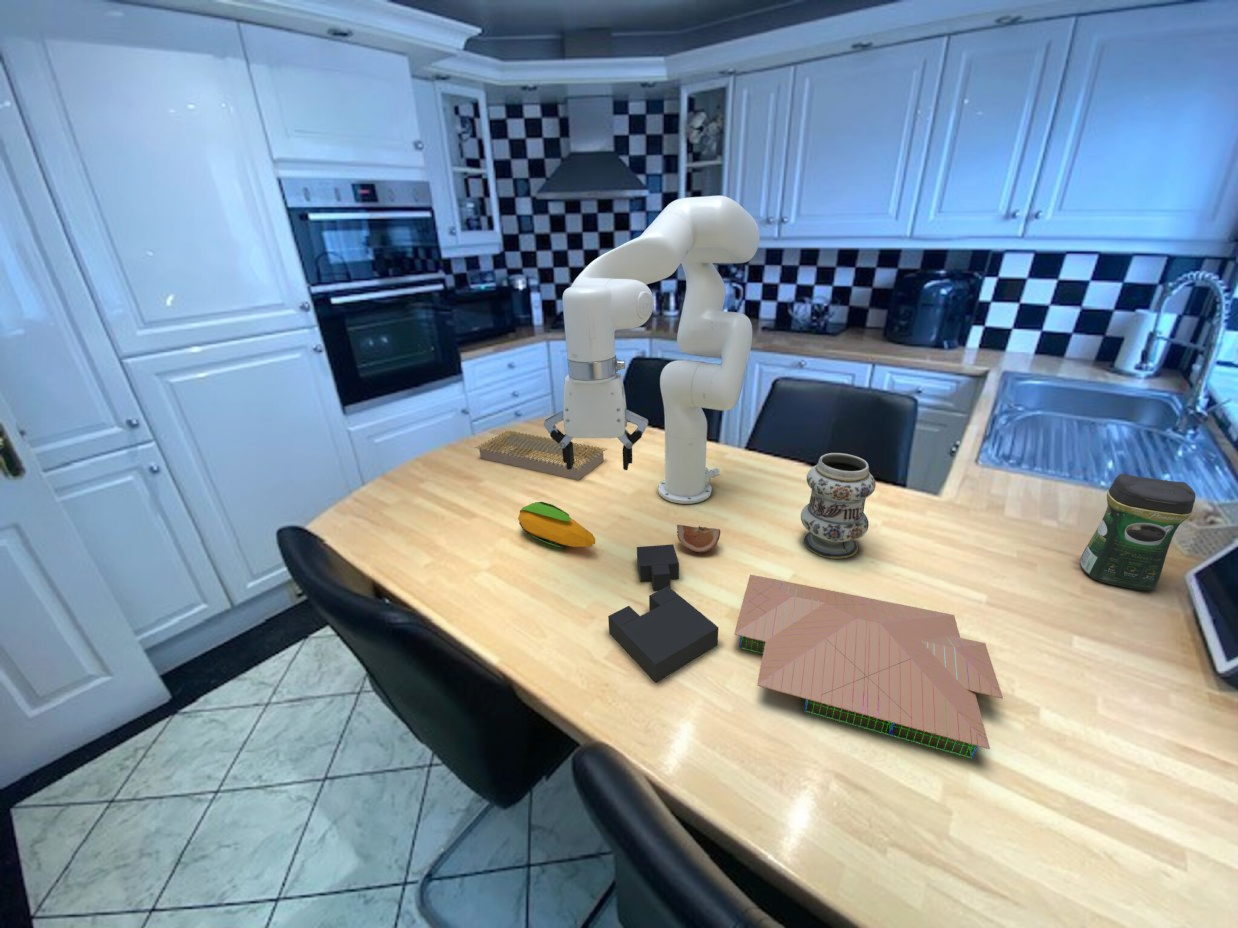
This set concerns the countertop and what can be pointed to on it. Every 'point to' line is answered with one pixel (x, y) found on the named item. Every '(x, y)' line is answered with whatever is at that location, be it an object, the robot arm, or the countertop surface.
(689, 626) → the notch pad
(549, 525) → the corn
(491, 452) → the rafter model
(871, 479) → the apothecary jar
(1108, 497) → the coffee jar
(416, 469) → the countertop surface
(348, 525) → the countertop surface
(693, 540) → the fruit slice
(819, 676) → the house
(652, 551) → the tab pad
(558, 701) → the countertop surface
